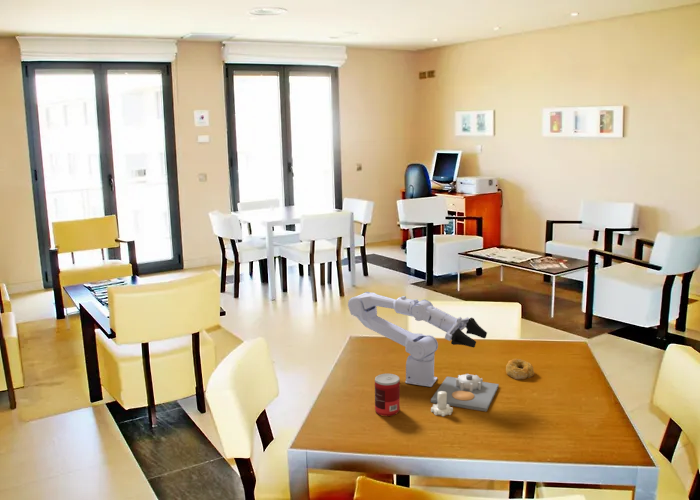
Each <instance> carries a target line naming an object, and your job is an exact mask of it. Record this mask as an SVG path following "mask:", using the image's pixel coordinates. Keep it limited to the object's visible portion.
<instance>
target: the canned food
mask: <svg viewBox="0 0 700 500" xmlns="http://www.w3.org/2000/svg"><path fill="white" fill-rule="evenodd" d="M400 380H401V379H400V376H399V375H396V374H395V373H394V374H393V373H382V374H378V375H376V376H375V378H374V410H375V413H376V414H377V415H380V416H383V417H391V416H395V415H397V414H398V413H399V412H400V402H401V401H400V397H401V396H400V395H401V394H400V393H401V392H400V391H401V390H400V388H401V387H400V386H401V383H400V382H401V381H400Z"/></svg>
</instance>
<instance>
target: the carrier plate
mask: <svg viewBox="0 0 700 500" xmlns="http://www.w3.org/2000/svg"><path fill="white" fill-rule="evenodd" d="M499 386H500V385H499V383H493V382H487V381H483V377H481V378H480V377H479V375H477V374H475V375H474V374H469V373H465V374H461V375H460V374H458V375H457V377H452V376H446V377H445V378H444V380H443V381H442V383H441V384H440V386H439V387H438V388H437V390H436V391H435V392H434V394H433V395H432V397H431V398H430V403H432V404H437V401H438V392H439V391H445V392H446V393H447V404H449V406H450V407H451V406H452V407H456V408H463V409H469V410H475V411H481V412H487V411H488V409H489V407H490V405H491V403H492V402H493V400H494V397H495V395H496V393H497V391H498V389H499ZM447 404H446V405H447Z"/></svg>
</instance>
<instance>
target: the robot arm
mask: <svg viewBox="0 0 700 500" xmlns="http://www.w3.org/2000/svg"><path fill="white" fill-rule="evenodd" d="M347 307H348V309H349V313H350V315H351V316H353V317H355V318H357V319H358V321H360V323H361V324H362V325H363V326H364V327H365V328H367V329H369V330H371V331H372V332H374V333H377V334H379V335H381V336H383V337H385V338H387V339H390V340H391V341H393V342H395V343H397V344H398V345H401V346H403V347H405V352H406V353H408V354H409V355H408V357H407V358H406V362H405V381H404V383H405V384H410V385H417V386H422V387H427V388H428V387H429V388H431V387H433V386H434V384H435V383H436V381H437V380H438V377H437V376H435V352H437V350H438V348H439V342H438V341H437V339H436V337H434V336H433V335H430V334H423V333H414V332H412V331H410V330H407V329H406V328H402V327H401V326H399V325H397V324H395V323H392V322H390V321H388V320H386V319H385V318H382V317H380V316H378V310H377V307H378V308H379V307H381V308H387V309H393V310H394V311H395V313H396V314H400V315H404V316H409V317H411V318H412V317H413V318H414V319H415V321H417V322H420V321H424V322H425V323H427V324H430V325H432V326H433V327H436V328H438V329H439V330H441V331H443V332H445V335H444V340H446V341H448V342H450V341H451V342H450V343H451V345H453V346H455V345H456V346H457V345H460V346H465V347H469V348H475V347H476V344H477V341H476V340H475V339H473V338H471V337H470V336H468V335H469V334H470V335H474V336H475V337H476V336H477V337H479V338H482V339H486V338H487V334H488V331H486V330H484V329H483V328H482V327H481V326H480V325H479V323H478V322H477V321H476V320H475V318H474V317H468V316H467V317H465V318H462V317H461V316H459V317H458V318H457V317H455V316H453V315H451V314H449V313H448V312H445V311H443V310H441V309H439V308H437V307H435V306H434V305H433V304H432V302H431V301H429V300H428V299H422V300H420V301H419V299H417V298H415V299H411V298H407V296H404V295H402V296H399V297H397V299H395V298H391V297H389V296H384V295H381V294H377V293H376V292H370V291H365V292H364V293H361V294H359V295H356V296H353V297H350V298H349V299H348V302H347ZM465 328H466V332H465V333H464V332H463V330H464V329H465ZM467 334H468V335H467Z"/></svg>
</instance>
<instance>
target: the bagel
mask: <svg viewBox="0 0 700 500" xmlns="http://www.w3.org/2000/svg"><path fill="white" fill-rule="evenodd" d="M505 373H506V374H507V376H510V377H511V378H512V379H514V380H526V379H529V378H532V377H534V376H535V371H534V366H533V364H531V363H530V361H529V362H528V361H526V360H525V359H520V358H512V359H511V360H508V362H507V364H506V365H505Z"/></svg>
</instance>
